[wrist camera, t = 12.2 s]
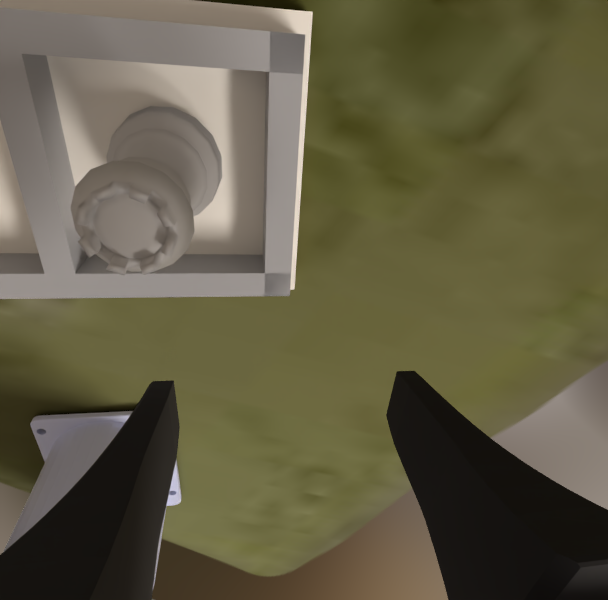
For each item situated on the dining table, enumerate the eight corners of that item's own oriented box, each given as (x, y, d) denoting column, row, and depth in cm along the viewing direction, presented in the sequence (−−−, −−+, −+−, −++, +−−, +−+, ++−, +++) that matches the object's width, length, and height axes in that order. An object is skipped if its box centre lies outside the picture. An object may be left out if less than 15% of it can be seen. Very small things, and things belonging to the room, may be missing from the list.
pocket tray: (292, 280, 22) (299, 309, 20) (-144, 282, 19) (-201, 317, 17) (308, 13, 16) (321, 7, 14) (-328, -48, 13) (-465, -72, 11)
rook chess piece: (243, 150, 18) (246, 212, 11) (190, 230, 19) (164, 330, 12) (145, 78, 16) (75, 100, 9) (95, 174, 17) (3, 254, 10)
